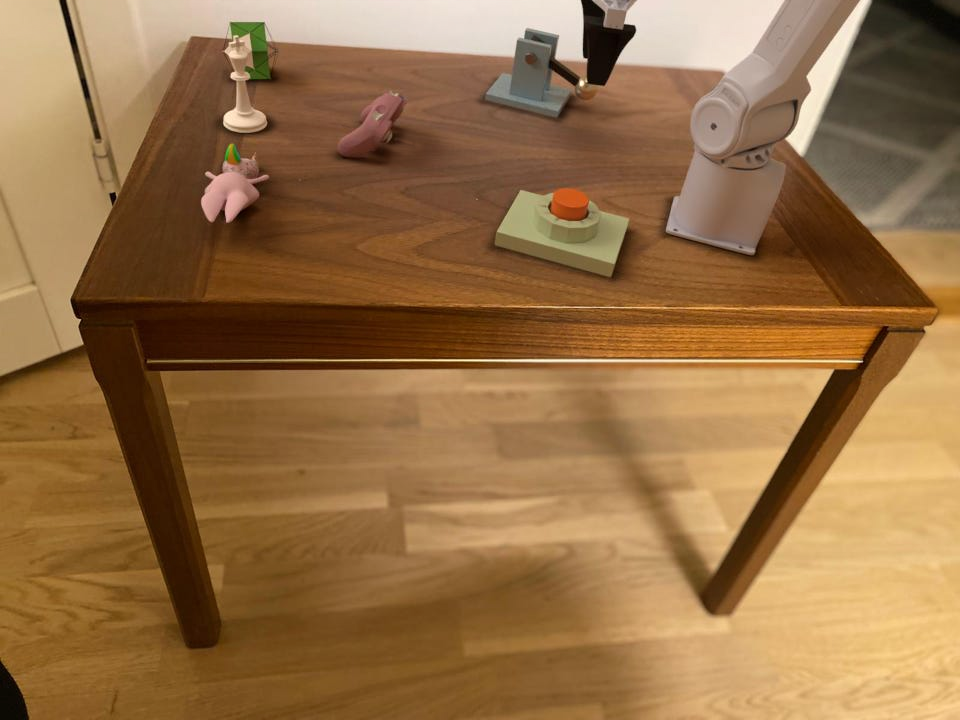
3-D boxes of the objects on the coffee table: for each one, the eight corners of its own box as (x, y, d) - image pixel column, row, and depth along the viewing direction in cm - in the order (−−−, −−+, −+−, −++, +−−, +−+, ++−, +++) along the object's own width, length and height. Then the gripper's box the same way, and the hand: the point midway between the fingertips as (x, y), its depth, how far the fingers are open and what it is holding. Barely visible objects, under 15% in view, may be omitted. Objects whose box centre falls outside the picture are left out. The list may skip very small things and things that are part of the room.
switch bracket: (570, 97, 103) (582, 36, 97) (556, 120, 97) (569, 56, 92) (501, 80, 104) (509, 19, 99) (484, 102, 99) (492, 38, 93)
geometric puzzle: (220, 43, 98) (216, 5, 90) (274, 43, 100) (274, 5, 92) (227, 94, 97) (224, 60, 89) (281, 92, 99) (282, 59, 91)
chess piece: (215, 119, 87) (203, 31, 80) (253, 110, 90) (245, 25, 83) (236, 136, 85) (226, 48, 78) (275, 127, 87) (268, 40, 80)
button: (588, 208, 76) (592, 193, 74) (581, 226, 73) (585, 210, 72) (554, 199, 76) (557, 184, 75) (546, 216, 74) (549, 201, 72)
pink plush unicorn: (215, 178, 80) (185, 237, 68) (210, 123, 77) (177, 174, 64) (275, 181, 81) (256, 240, 69) (272, 127, 78) (251, 178, 65)
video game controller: (367, 176, 84) (395, 130, 80) (332, 152, 83) (359, 104, 79) (391, 138, 92) (419, 94, 87) (360, 116, 90) (386, 70, 86)
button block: (625, 232, 79) (634, 203, 77) (610, 278, 73) (619, 248, 70) (518, 203, 81) (523, 174, 79) (494, 245, 74) (498, 215, 72)
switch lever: (590, 99, 100) (603, 81, 98) (586, 108, 98) (599, 89, 96) (524, 51, 98) (536, 31, 96) (518, 58, 96) (530, 38, 94)
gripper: (579, -79, 83) (557, 43, 93) (588, -43, 73) (562, 91, 82) (641, -71, 84) (613, 51, 93) (658, -34, 73) (625, 99, 82)
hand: (593, 70), depth 88 cm, fingers open, 7 cm apart
